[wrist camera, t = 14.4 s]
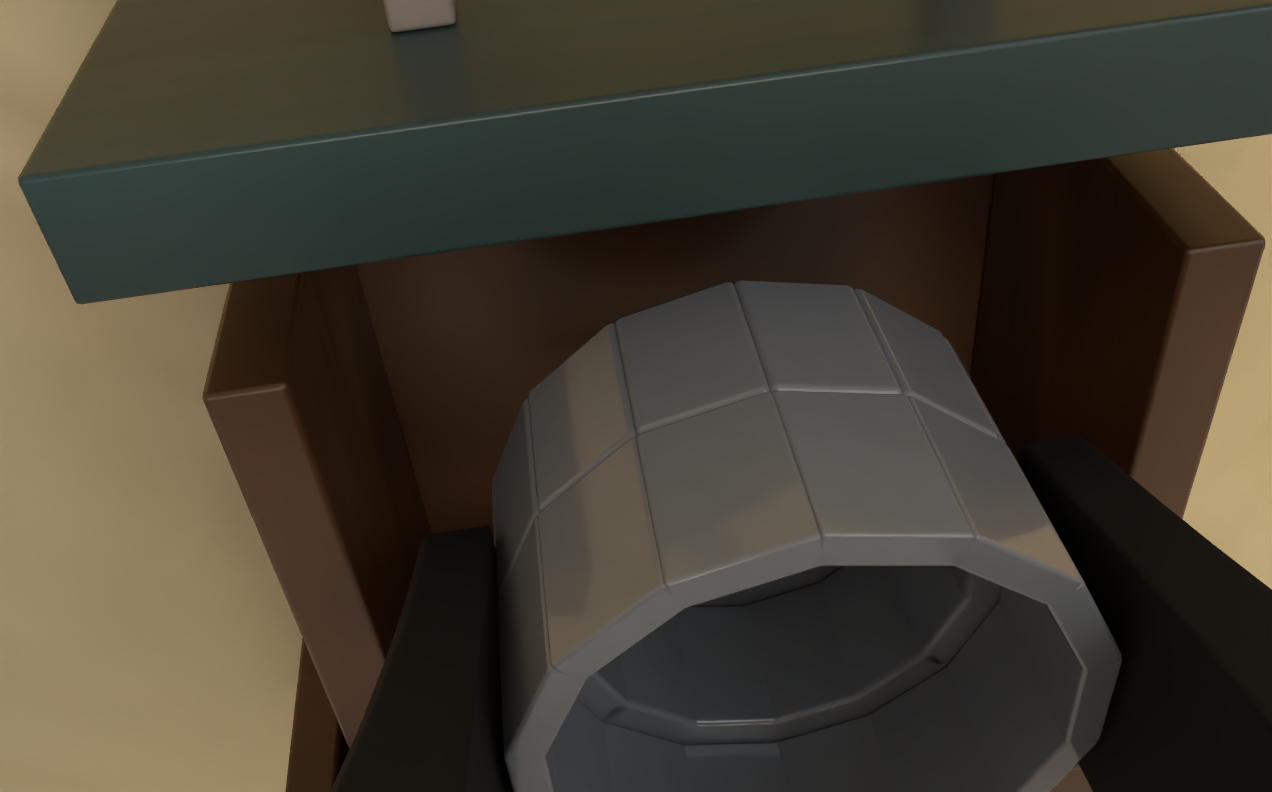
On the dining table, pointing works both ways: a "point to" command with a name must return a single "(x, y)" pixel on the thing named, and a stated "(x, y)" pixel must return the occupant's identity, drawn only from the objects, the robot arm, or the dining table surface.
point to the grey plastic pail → (783, 564)
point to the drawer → (641, 224)
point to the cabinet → (326, 748)
